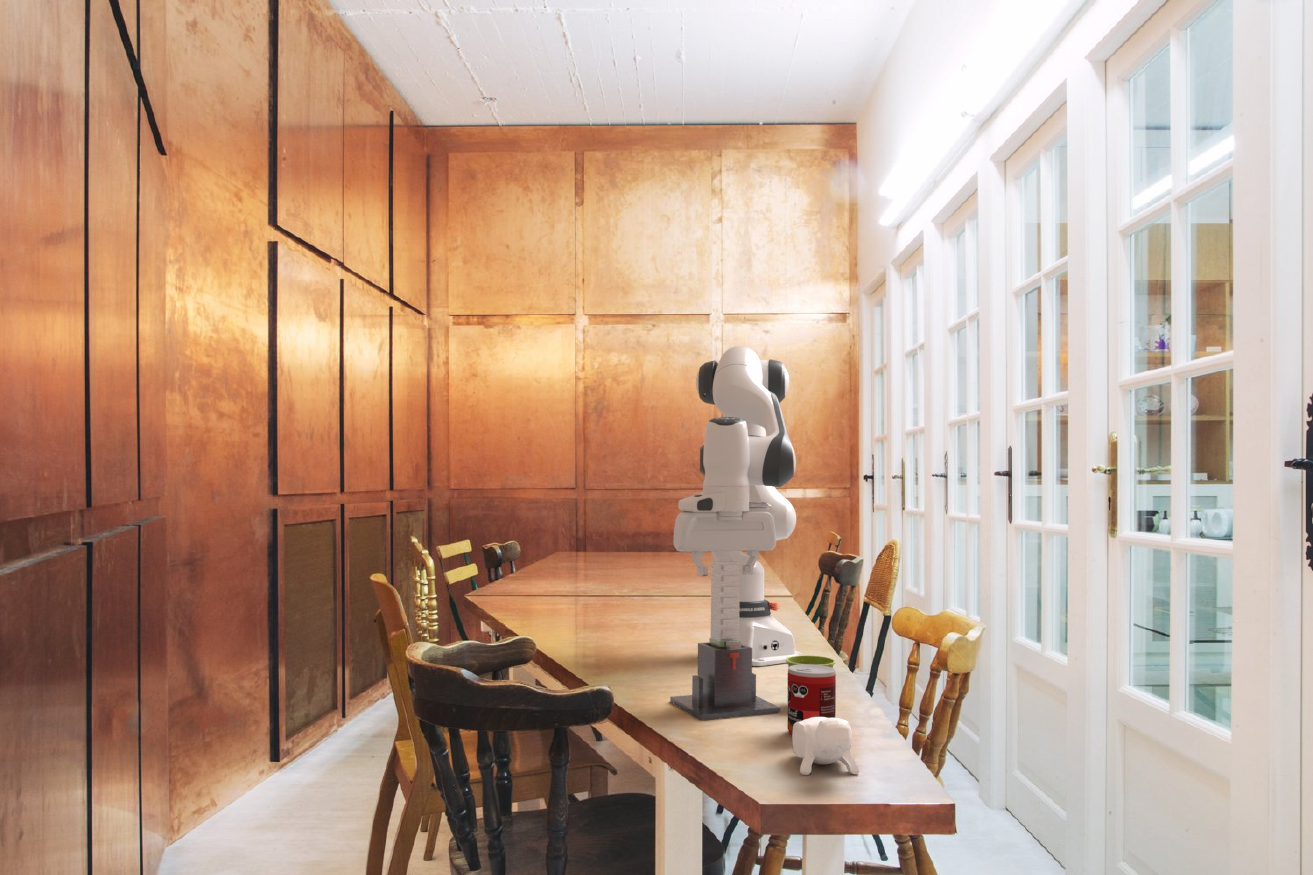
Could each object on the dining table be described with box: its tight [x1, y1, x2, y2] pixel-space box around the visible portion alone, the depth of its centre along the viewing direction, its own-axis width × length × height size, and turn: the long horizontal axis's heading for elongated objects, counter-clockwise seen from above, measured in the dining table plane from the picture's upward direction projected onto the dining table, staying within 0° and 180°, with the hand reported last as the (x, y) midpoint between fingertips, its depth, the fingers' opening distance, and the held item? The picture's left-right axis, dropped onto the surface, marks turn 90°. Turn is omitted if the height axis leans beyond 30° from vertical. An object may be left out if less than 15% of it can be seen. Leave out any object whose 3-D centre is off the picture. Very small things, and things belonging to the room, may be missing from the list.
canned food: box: [787, 664, 837, 737], centre depth 150 cm, size 8×8×11 cm
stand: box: [669, 640, 781, 721], centre depth 167 cm, size 16×14×13 cm
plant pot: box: [786, 654, 837, 669], centre depth 169 cm, size 9×9×9 cm
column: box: [708, 560, 740, 649], centre depth 168 cm, size 4×5×20 cm
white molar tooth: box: [791, 717, 860, 776], centre depth 132 cm, size 9×8×15 cm
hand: (725, 575), depth 168 cm, fingers open, 8 cm apart
